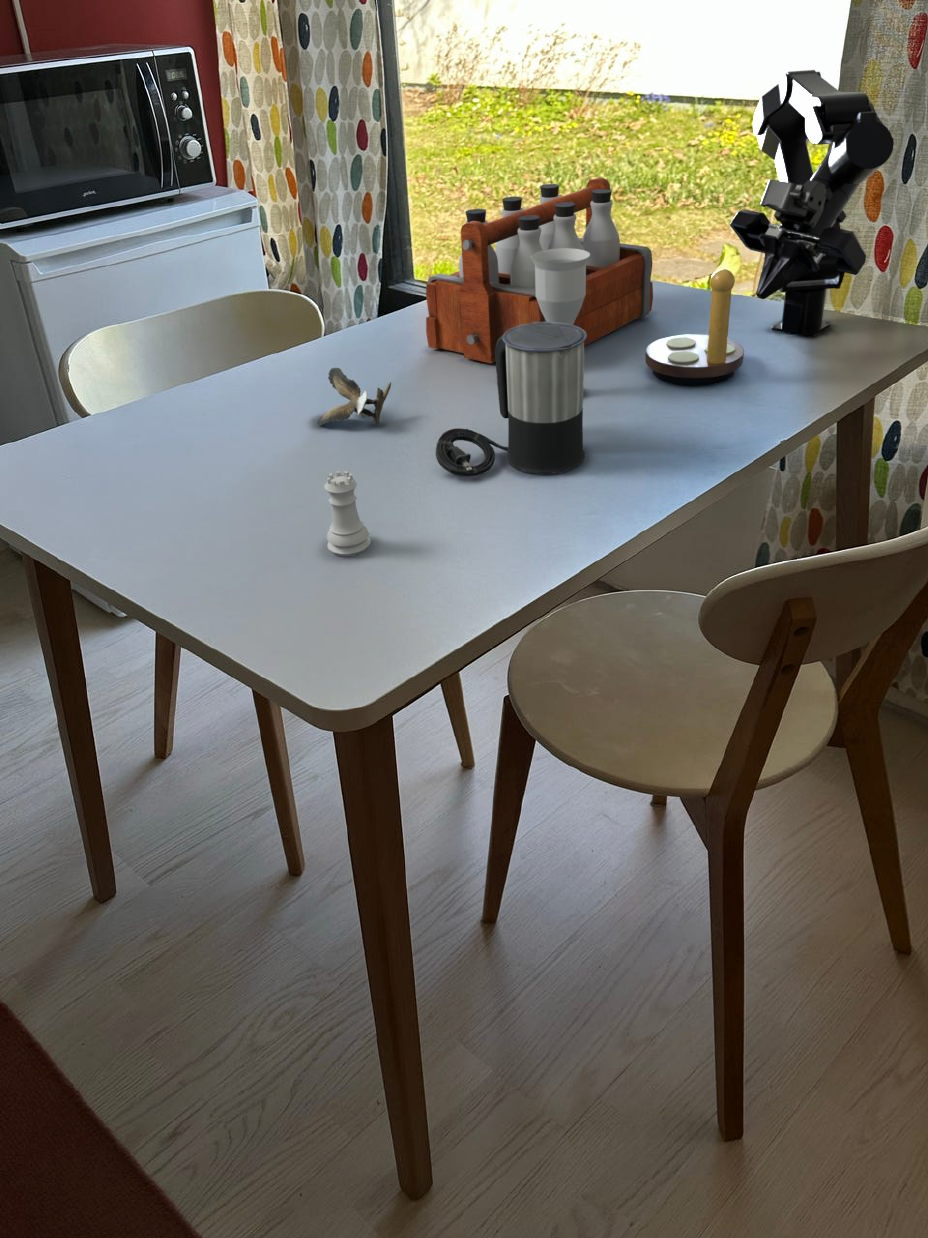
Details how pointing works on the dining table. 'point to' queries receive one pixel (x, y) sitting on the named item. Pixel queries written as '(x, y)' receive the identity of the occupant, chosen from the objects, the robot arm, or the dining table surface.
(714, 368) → the joystick with buttons
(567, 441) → the milk frother
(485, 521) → the dining table surface
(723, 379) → the holder base
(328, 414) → the eagle figurine
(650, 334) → the dining table surface
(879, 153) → the robot arm
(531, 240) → the milk bottle holder
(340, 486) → the rook chess piece
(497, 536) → the dining table surface
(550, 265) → the chalice
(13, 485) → the dining table surface
